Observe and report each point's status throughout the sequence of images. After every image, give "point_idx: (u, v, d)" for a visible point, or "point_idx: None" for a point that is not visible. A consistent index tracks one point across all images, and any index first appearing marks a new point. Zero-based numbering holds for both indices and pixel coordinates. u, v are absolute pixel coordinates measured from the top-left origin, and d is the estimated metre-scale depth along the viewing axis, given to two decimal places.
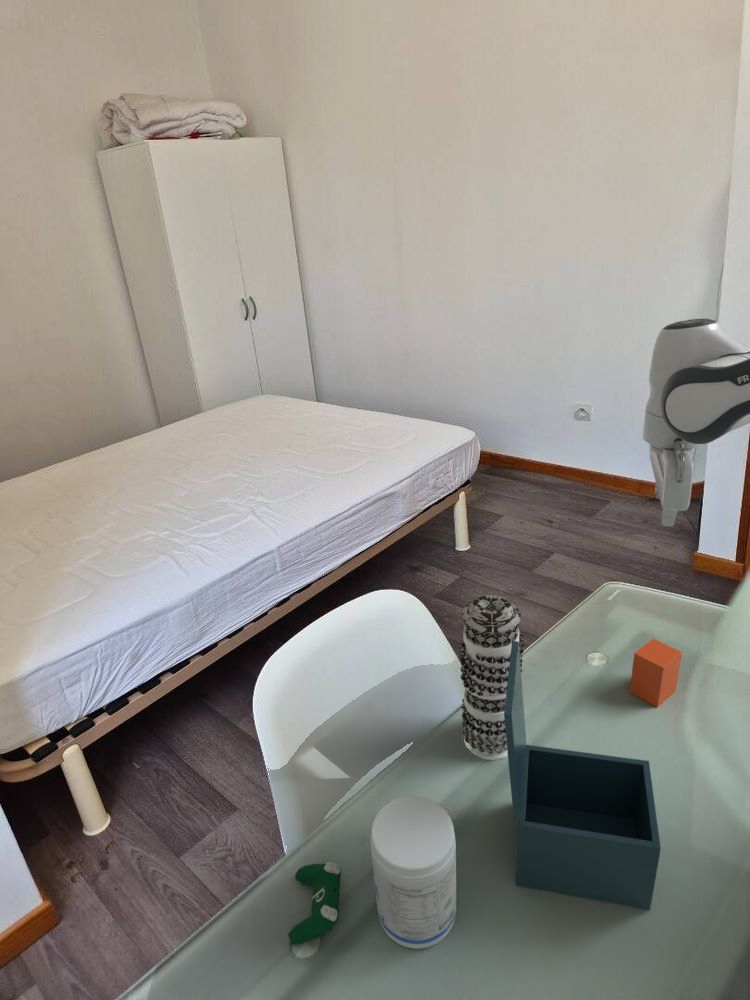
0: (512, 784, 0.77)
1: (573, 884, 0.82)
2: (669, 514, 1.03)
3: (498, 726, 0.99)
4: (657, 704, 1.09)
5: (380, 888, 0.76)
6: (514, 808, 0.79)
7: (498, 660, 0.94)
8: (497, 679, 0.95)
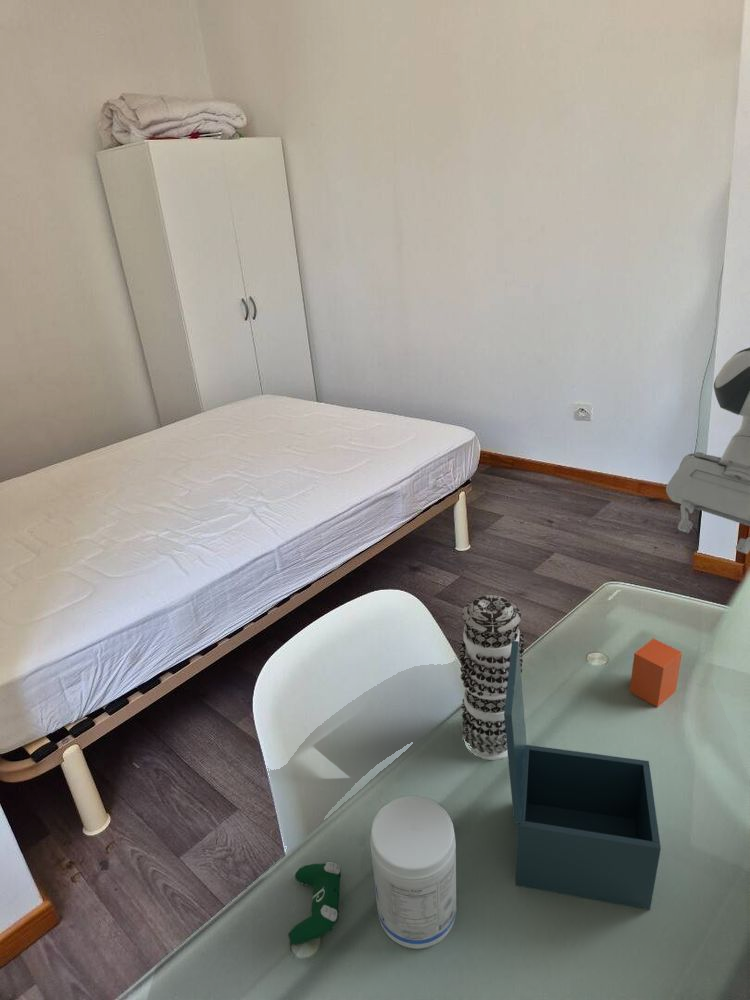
0: (512, 784, 0.77)
1: (573, 884, 0.82)
2: None
3: (498, 726, 0.99)
4: (657, 704, 1.09)
5: (380, 888, 0.76)
6: (514, 808, 0.79)
7: (498, 660, 0.94)
8: (497, 679, 0.95)
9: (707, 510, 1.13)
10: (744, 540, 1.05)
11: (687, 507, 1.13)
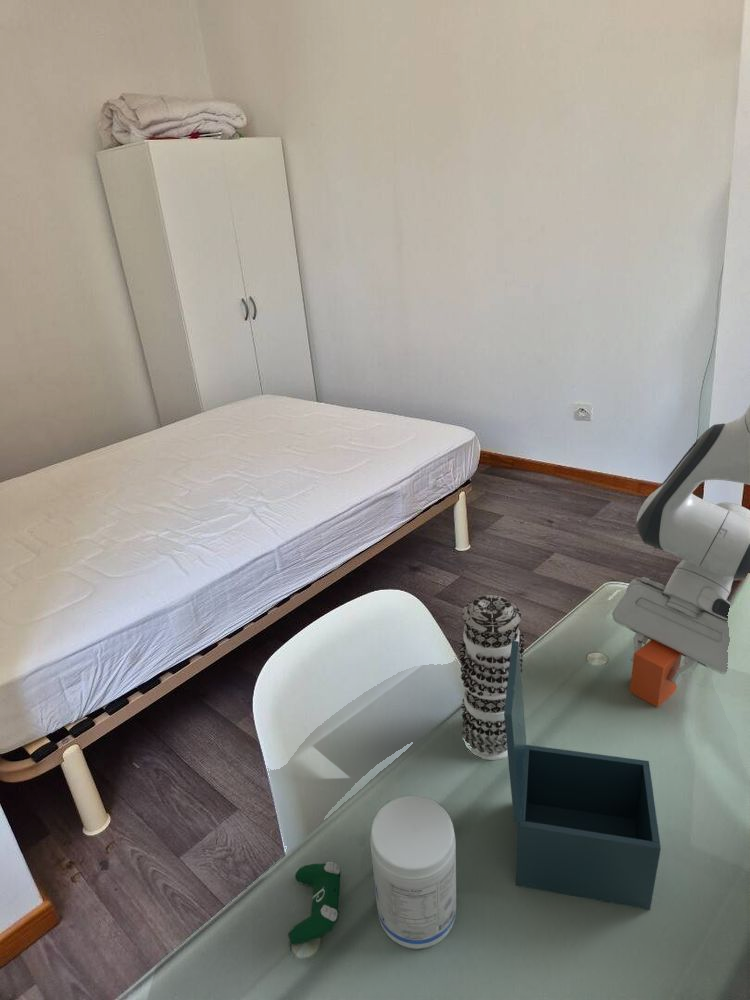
0: (512, 784, 0.77)
1: (573, 884, 0.82)
2: None
3: (498, 726, 0.99)
4: (657, 704, 1.09)
5: (380, 888, 0.76)
6: (514, 808, 0.79)
7: (498, 660, 0.94)
8: (497, 679, 0.95)
9: (651, 638, 1.14)
10: (674, 671, 1.08)
11: (640, 639, 1.13)
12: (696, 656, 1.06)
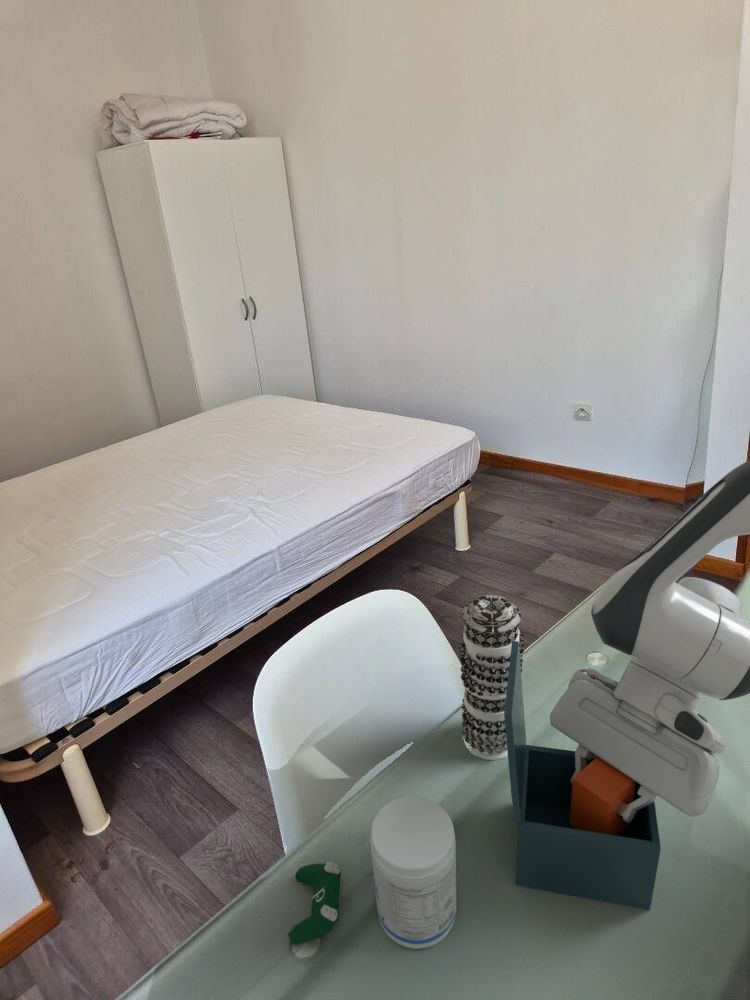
0: (512, 784, 0.77)
1: (573, 884, 0.82)
2: None
3: (498, 726, 0.99)
4: None
5: (380, 888, 0.76)
6: (514, 808, 0.79)
7: (498, 660, 0.94)
8: (497, 679, 0.95)
9: None
10: (625, 806, 0.81)
11: (583, 755, 0.86)
12: (653, 788, 0.79)
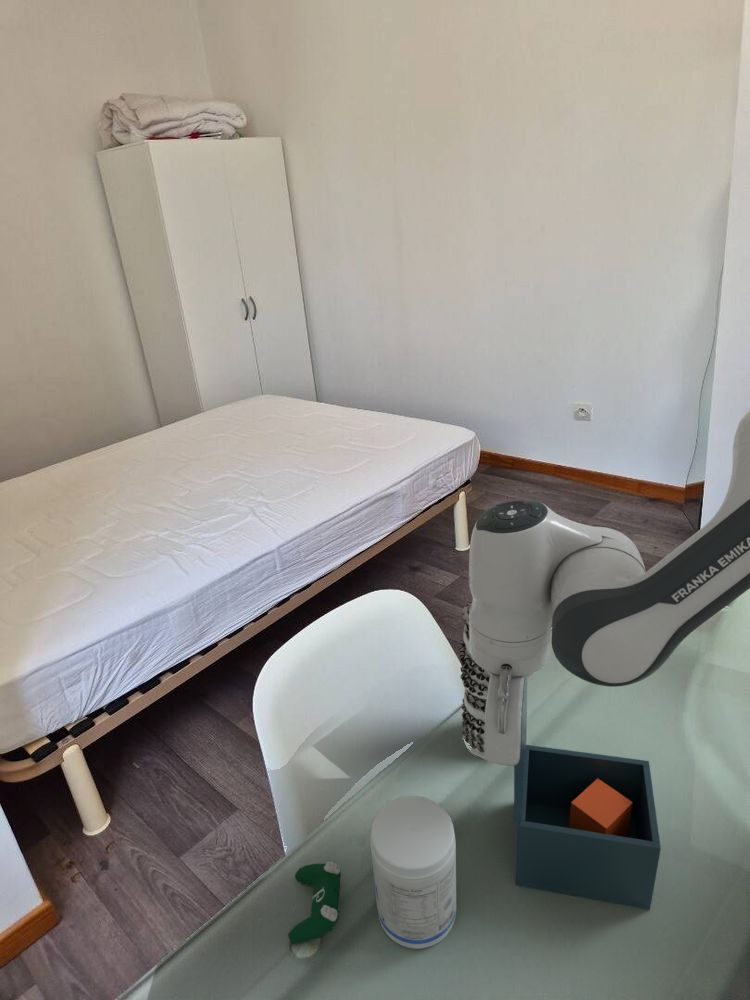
0: (516, 784, 0.77)
1: (573, 884, 0.82)
2: None
3: None
4: None
5: (380, 888, 0.76)
6: (515, 808, 0.79)
7: None
8: None
9: None
10: None
11: None
12: None
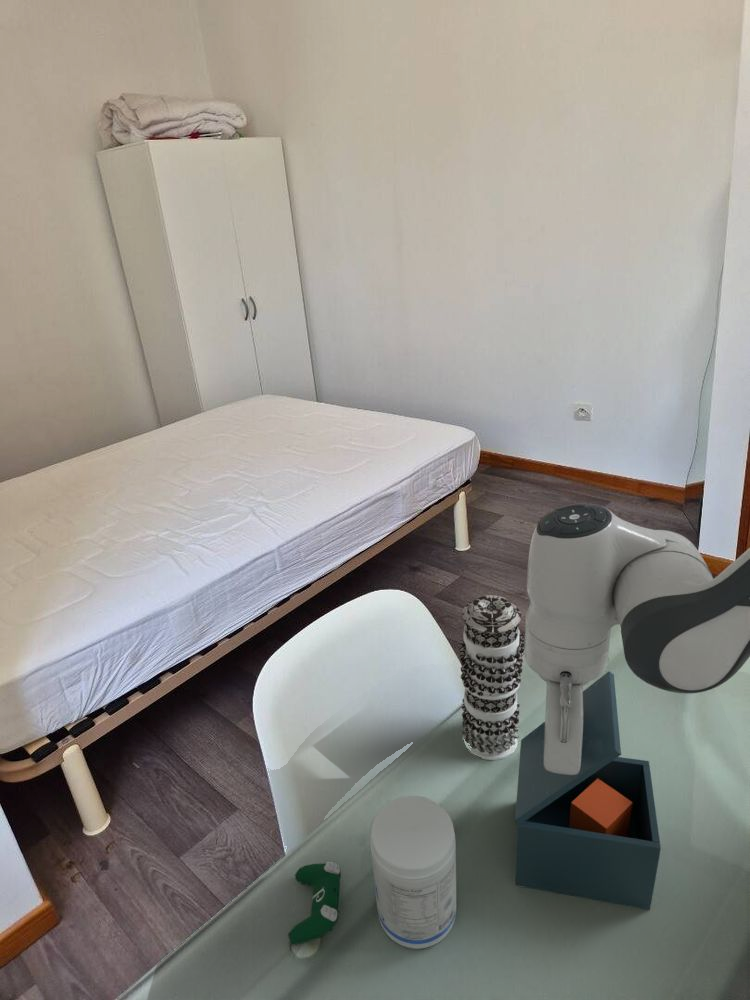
0: (551, 797, 0.76)
1: (573, 884, 0.82)
2: None
3: (498, 726, 0.99)
4: None
5: (380, 888, 0.76)
6: (529, 812, 0.78)
7: (498, 660, 0.94)
8: (497, 679, 0.95)
9: None
10: None
11: None
12: None
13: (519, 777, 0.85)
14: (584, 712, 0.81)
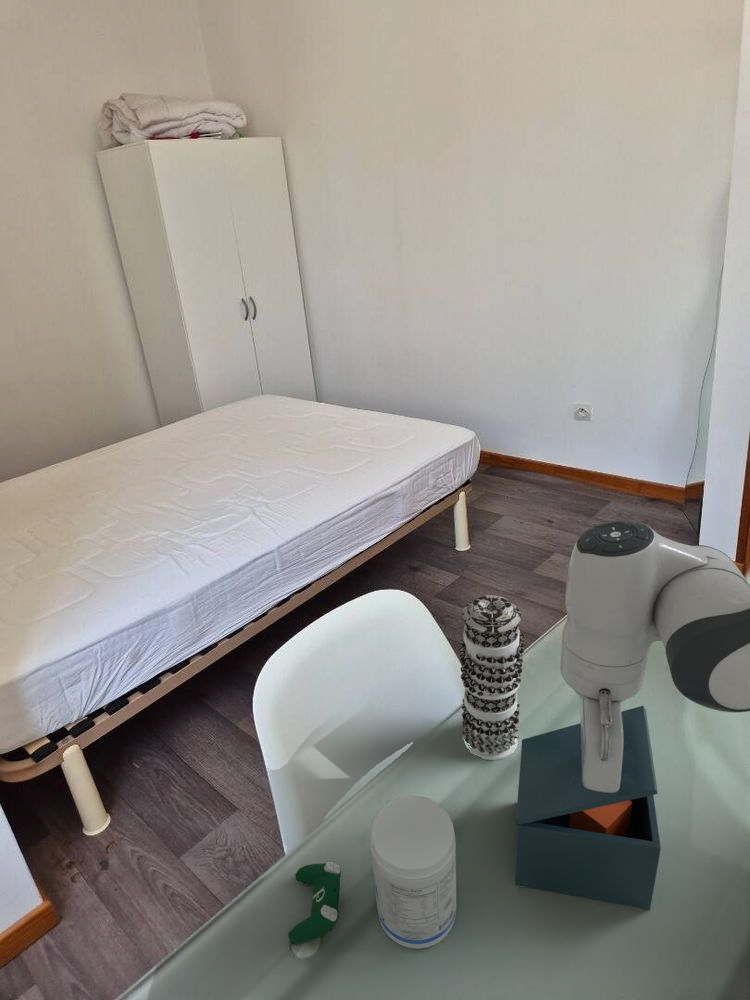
0: (565, 810, 0.77)
1: (573, 884, 0.82)
2: None
3: (498, 726, 0.99)
4: None
5: (380, 888, 0.76)
6: (534, 817, 0.79)
7: (498, 660, 0.94)
8: (497, 679, 0.95)
9: None
10: None
11: None
12: None
13: (521, 778, 0.85)
14: None
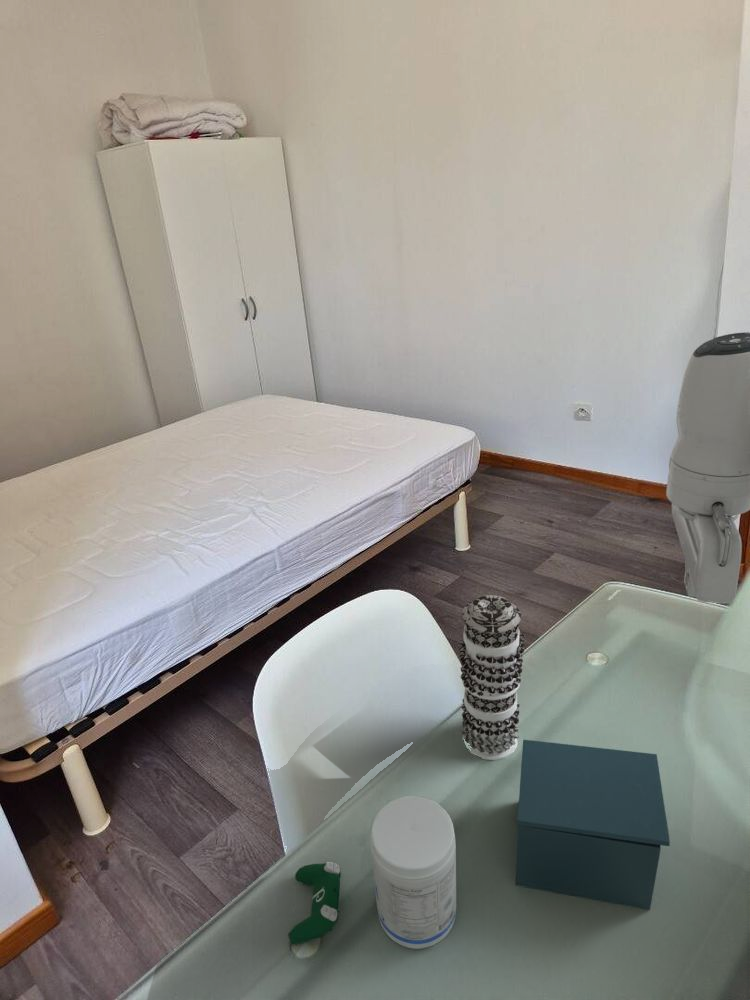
0: (572, 829, 0.78)
1: (573, 884, 0.82)
2: None
3: (498, 726, 0.99)
4: None
5: (380, 888, 0.76)
6: (538, 824, 0.79)
7: (498, 660, 0.94)
8: (497, 679, 0.95)
9: None
10: None
11: None
12: None
13: (523, 778, 0.85)
14: (622, 773, 0.84)
